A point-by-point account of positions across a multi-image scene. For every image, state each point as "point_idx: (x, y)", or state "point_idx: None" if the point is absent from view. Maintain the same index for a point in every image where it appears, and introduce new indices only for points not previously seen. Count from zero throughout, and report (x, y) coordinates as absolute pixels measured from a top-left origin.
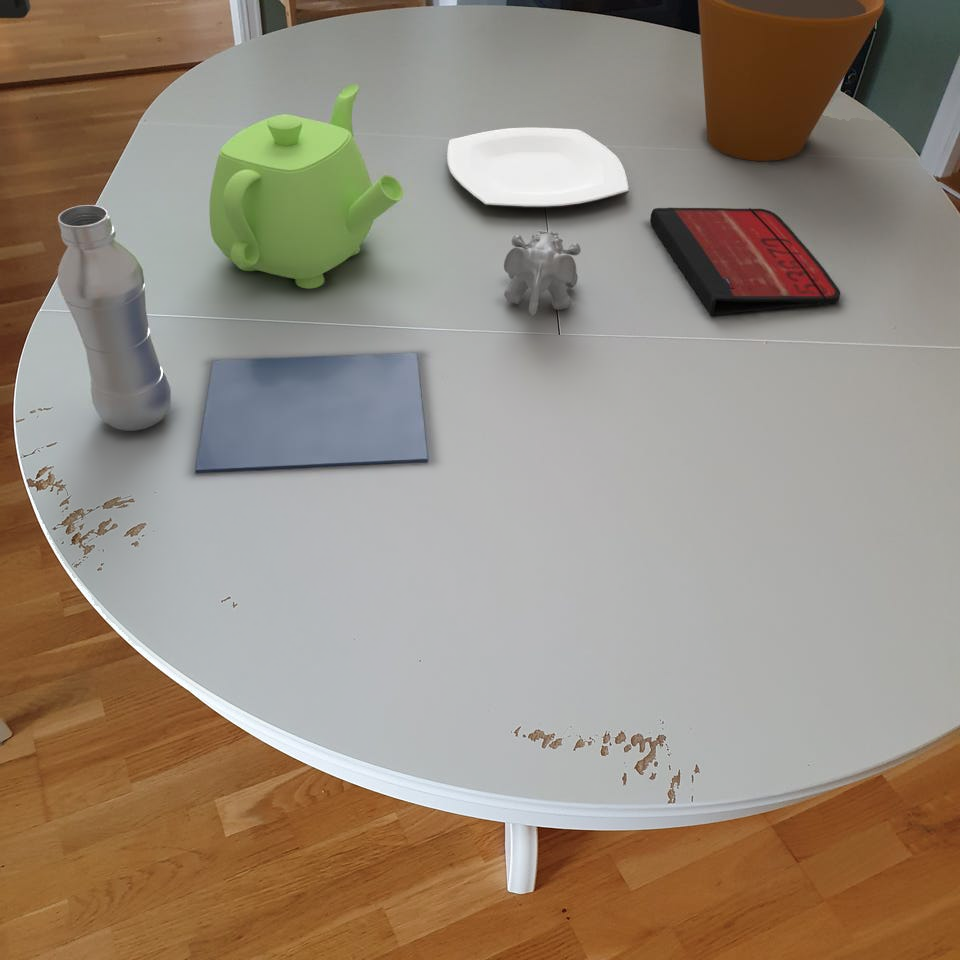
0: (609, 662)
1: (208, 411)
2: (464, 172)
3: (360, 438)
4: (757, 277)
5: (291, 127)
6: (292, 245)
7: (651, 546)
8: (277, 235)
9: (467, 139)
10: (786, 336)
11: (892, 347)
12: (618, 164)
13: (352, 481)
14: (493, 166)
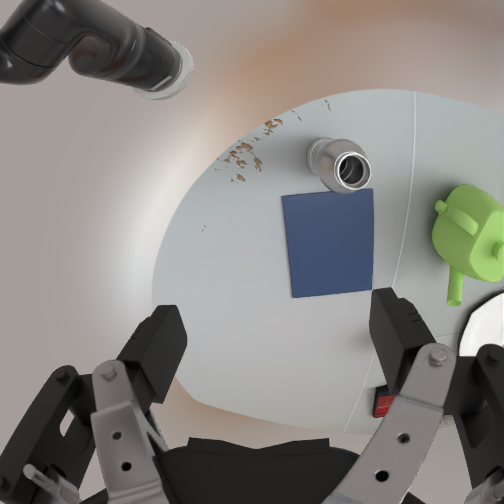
0: (198, 344)
1: (328, 194)
2: (496, 301)
3: (307, 270)
4: (389, 402)
5: (497, 259)
6: (439, 239)
7: (248, 362)
8: (445, 232)
9: None
10: (359, 403)
11: (346, 423)
12: None
13: (278, 268)
14: (499, 310)
